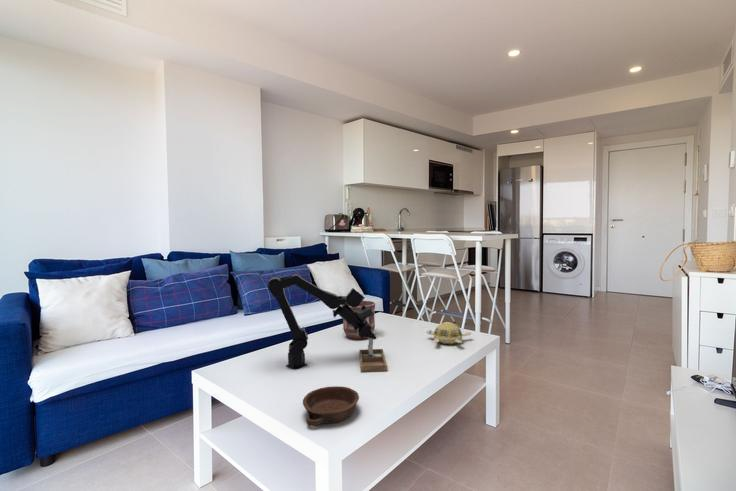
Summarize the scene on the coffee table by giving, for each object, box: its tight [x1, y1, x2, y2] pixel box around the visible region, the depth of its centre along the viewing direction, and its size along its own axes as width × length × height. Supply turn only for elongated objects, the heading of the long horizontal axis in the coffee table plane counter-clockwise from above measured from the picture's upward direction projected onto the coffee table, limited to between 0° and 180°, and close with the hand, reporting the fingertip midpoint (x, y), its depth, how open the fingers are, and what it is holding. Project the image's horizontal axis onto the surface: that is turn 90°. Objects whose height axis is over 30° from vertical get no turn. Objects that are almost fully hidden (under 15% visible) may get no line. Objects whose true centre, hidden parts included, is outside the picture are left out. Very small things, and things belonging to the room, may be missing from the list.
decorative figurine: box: [425, 321, 472, 345], centre depth 184 cm, size 26×21×10 cm
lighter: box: [367, 338, 374, 355], centre depth 164 cm, size 7×2×8 cm, turn 7°
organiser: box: [359, 348, 388, 374], centre depth 158 cm, size 20×11×2 cm, turn 3°
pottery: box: [342, 300, 376, 341], centre depth 197 cm, size 18×18×18 cm
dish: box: [302, 385, 360, 427], centre depth 116 cm, size 18×22×5 cm
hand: (375, 338), depth 163 cm, fingers closed on lighter, 2 cm apart
